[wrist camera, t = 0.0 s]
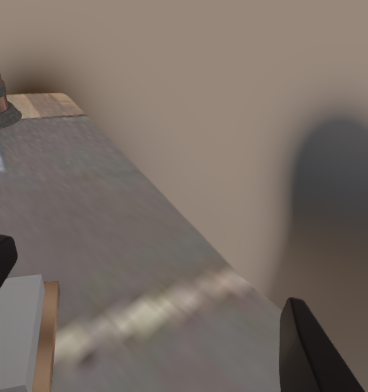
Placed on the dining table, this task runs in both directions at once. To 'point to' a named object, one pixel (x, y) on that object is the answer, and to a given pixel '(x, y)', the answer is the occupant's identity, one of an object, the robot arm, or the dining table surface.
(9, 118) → the tankard
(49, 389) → the tower base
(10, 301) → the tower top
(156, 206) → the dining table surface
